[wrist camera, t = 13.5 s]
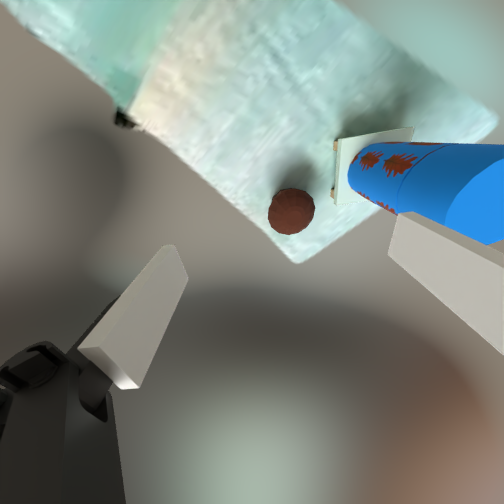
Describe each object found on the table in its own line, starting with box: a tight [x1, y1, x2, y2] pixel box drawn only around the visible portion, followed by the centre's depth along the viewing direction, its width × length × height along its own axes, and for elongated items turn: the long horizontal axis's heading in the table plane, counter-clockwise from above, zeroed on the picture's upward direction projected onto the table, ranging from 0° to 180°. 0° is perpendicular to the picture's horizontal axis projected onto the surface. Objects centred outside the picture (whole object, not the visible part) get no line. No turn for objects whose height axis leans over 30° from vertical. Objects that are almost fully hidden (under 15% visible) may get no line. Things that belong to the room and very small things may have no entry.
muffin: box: [268, 188, 315, 235], centre depth 47 cm, size 12×11×10 cm
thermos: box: [347, 142, 504, 245], centre depth 31 cm, size 11×11×25 cm
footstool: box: [330, 127, 415, 206], centre depth 44 cm, size 14×14×6 cm
